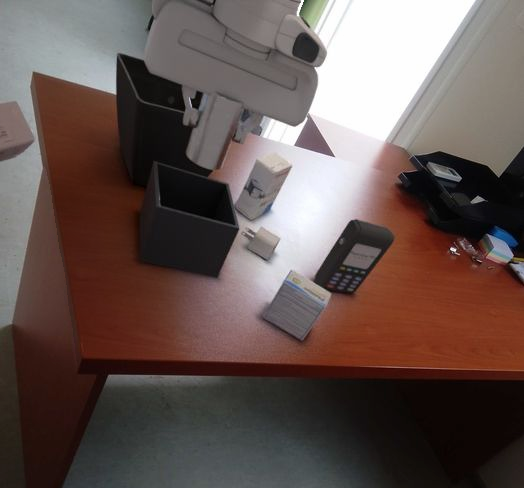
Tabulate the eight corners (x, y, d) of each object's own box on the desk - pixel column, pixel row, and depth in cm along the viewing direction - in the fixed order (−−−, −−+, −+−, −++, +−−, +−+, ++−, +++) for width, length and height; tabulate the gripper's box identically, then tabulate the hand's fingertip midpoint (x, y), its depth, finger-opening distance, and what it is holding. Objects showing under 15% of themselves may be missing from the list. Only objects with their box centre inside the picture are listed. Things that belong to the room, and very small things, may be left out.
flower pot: (100, 136, 93) (116, 48, 82) (187, 155, 103) (211, 79, 92) (118, 192, 83) (139, 100, 72) (212, 206, 93) (242, 128, 82)
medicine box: (308, 328, 80) (333, 293, 74) (301, 342, 77) (327, 307, 71) (269, 304, 80) (291, 267, 74) (261, 318, 77) (283, 280, 71)
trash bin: (140, 261, 73) (156, 206, 66) (139, 213, 81) (153, 160, 74) (217, 277, 79) (239, 228, 72) (209, 231, 87) (228, 183, 80)
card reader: (316, 291, 89) (358, 229, 79) (310, 277, 91) (350, 215, 81) (354, 297, 93) (398, 239, 83) (347, 284, 96) (389, 226, 86)
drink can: (186, 162, 58) (208, 92, 52) (184, 143, 62) (204, 74, 56) (224, 174, 61) (250, 107, 55) (220, 154, 64) (243, 89, 58)
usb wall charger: (266, 261, 88) (275, 245, 86) (236, 242, 88) (243, 226, 86) (273, 252, 91) (281, 237, 89) (243, 234, 91) (251, 218, 89)
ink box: (253, 198, 103) (275, 150, 95) (271, 211, 102) (294, 164, 94) (233, 207, 96) (255, 157, 89) (252, 221, 96) (275, 172, 88)
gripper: (159, -25, 43) (130, 116, 52) (339, 59, 52) (287, 168, 61) (157, -41, 47) (131, 93, 56) (325, 39, 55) (278, 145, 65)
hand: (213, 133), depth 59 cm, fingers closed on drink can, 5 cm apart
